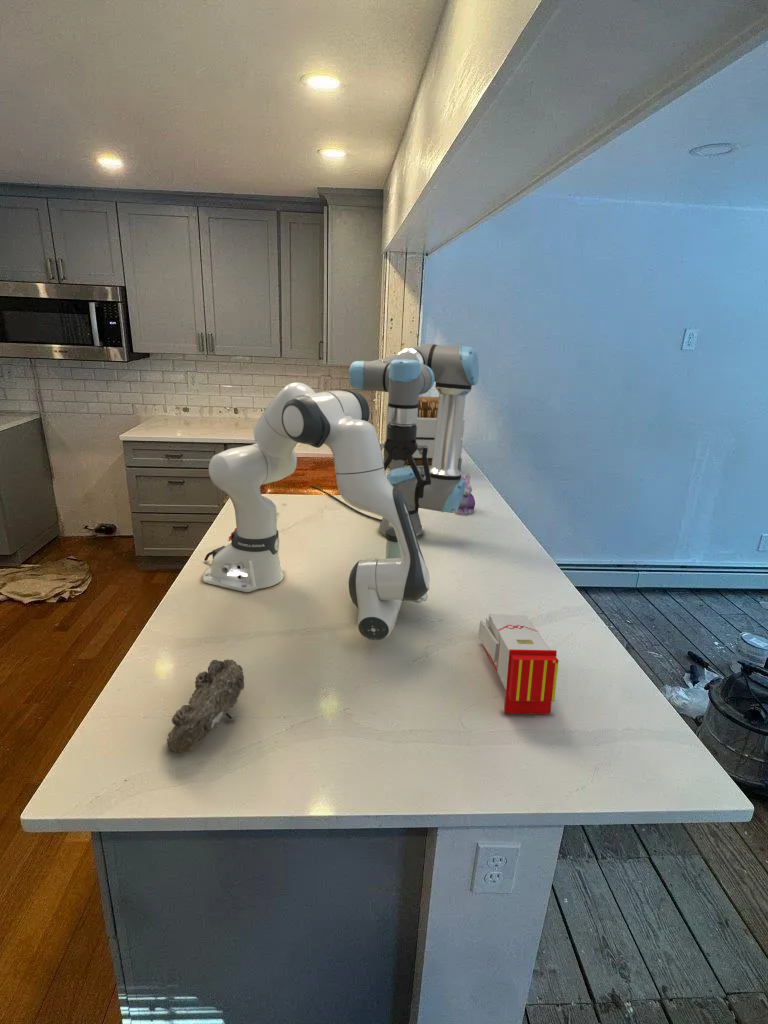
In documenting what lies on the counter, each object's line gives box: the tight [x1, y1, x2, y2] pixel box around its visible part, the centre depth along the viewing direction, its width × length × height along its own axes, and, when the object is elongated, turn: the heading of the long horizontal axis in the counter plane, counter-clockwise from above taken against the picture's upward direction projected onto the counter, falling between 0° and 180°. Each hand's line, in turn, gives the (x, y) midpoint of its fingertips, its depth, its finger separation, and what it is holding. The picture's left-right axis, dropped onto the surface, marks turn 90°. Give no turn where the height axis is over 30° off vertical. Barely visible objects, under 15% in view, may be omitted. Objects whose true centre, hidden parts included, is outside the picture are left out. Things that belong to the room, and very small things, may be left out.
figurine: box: [455, 473, 476, 515], centre depth 223 cm, size 9×10×15 cm
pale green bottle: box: [384, 538, 402, 559], centre depth 155 cm, size 5×5×18 cm
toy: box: [477, 613, 560, 715], centre depth 124 cm, size 12×13×30 cm
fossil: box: [166, 658, 245, 754], centre depth 106 cm, size 22×10×15 cm
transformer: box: [383, 396, 465, 474], centre depth 268 cm, size 34×33×41 cm
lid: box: [384, 528, 398, 542], centre depth 152 cm, size 6×6×2 cm
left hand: (393, 573), depth 155 cm, fingers open, 8 cm apart
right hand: (397, 508), depth 149 cm, fingers open, 9 cm apart
